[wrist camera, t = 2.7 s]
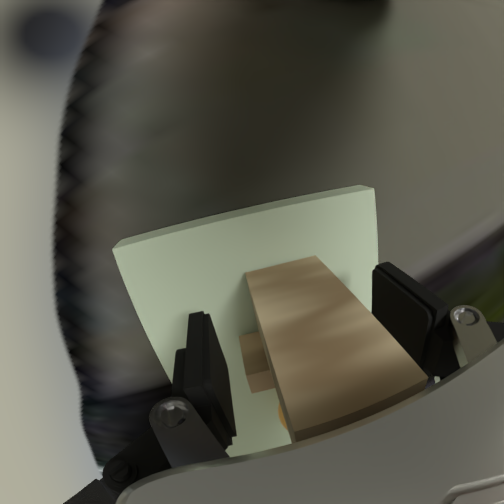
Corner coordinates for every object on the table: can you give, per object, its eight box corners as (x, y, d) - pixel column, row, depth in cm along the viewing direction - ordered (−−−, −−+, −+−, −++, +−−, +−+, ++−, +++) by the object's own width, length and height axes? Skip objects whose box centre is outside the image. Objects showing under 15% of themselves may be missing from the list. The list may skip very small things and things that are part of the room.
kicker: (335, 250, 12) (457, 359, 5) (340, 326, 14) (420, 444, 7) (222, 277, 12) (244, 443, 5) (243, 353, 14) (275, 499, 6)
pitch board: (359, 184, 13) (374, 188, 12) (357, 420, 20) (363, 431, 19) (120, 239, 12) (111, 249, 11) (225, 456, 20) (226, 468, 18)
